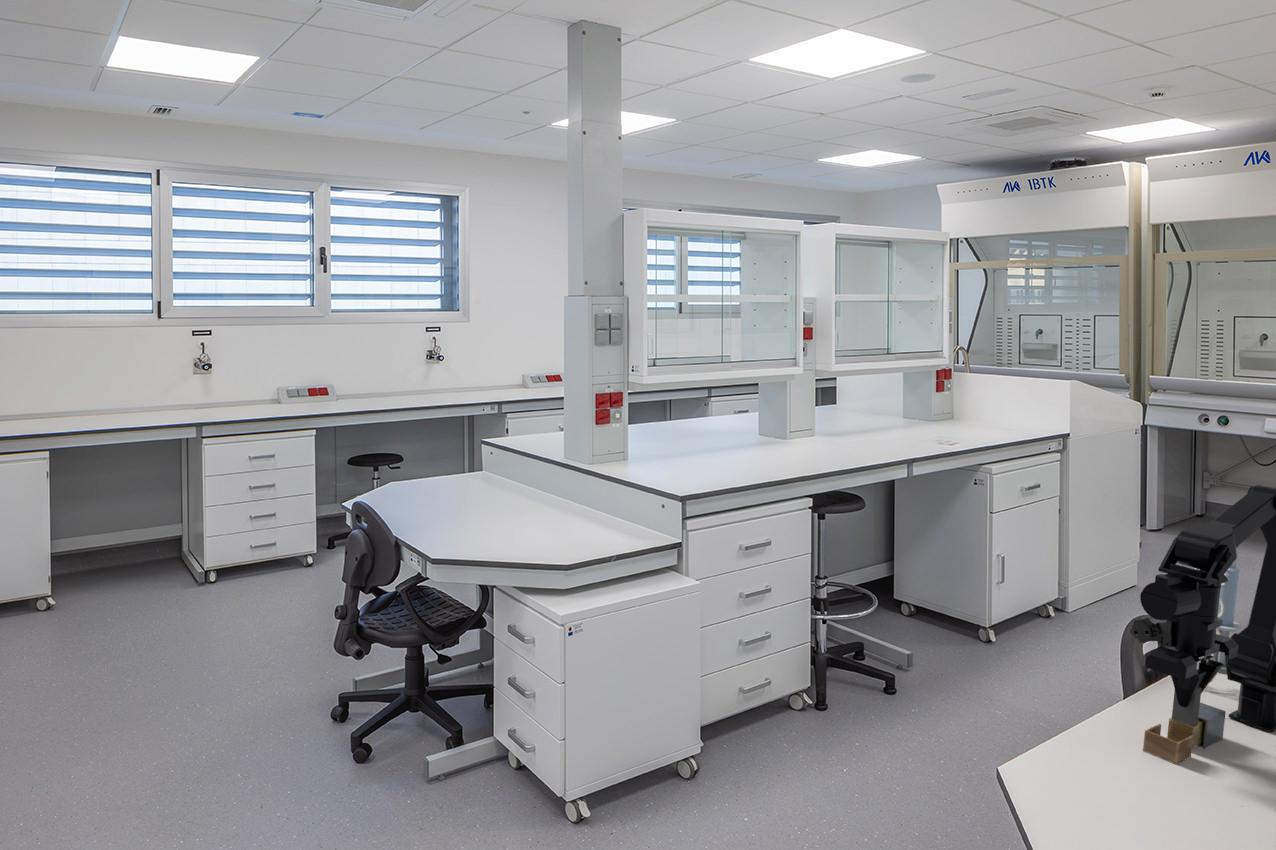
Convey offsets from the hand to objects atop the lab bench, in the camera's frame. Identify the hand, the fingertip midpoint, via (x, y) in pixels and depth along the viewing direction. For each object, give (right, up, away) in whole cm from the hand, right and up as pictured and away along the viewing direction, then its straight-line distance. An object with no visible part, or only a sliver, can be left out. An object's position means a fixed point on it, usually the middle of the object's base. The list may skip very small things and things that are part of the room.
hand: (1186, 704), depth 138 cm
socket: (-4, -7, -2) cm, 9 cm away
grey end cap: (+4, -7, +4) cm, 9 cm away
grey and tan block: (+3, -6, +3) cm, 7 cm away
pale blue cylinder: (+28, -4, +33) cm, 44 cm away
